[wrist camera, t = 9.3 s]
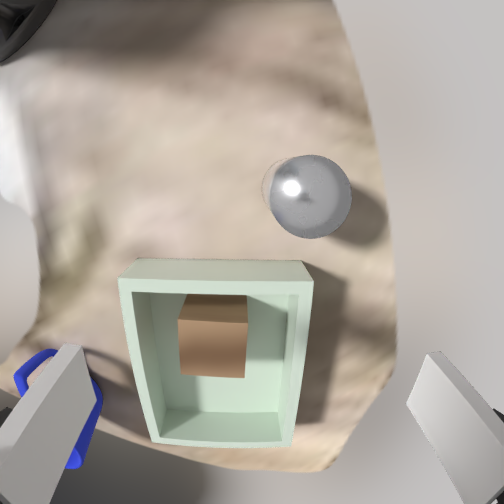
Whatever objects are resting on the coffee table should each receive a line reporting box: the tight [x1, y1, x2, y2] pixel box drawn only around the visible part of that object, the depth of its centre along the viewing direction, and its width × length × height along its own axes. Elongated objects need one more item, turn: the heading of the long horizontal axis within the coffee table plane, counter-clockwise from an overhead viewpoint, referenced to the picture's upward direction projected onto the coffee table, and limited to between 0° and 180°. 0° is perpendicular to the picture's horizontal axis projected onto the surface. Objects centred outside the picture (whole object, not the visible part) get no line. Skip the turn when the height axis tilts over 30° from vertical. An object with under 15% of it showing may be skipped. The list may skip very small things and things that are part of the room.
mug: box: [14, 349, 103, 469], centre depth 24 cm, size 8×12×10 cm
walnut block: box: [177, 294, 248, 378], centre depth 24 cm, size 5×5×5 cm
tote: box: [117, 258, 314, 448], centre depth 26 cm, size 18×14×5 cm
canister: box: [262, 155, 352, 239], centre depth 21 cm, size 5×5×7 cm
